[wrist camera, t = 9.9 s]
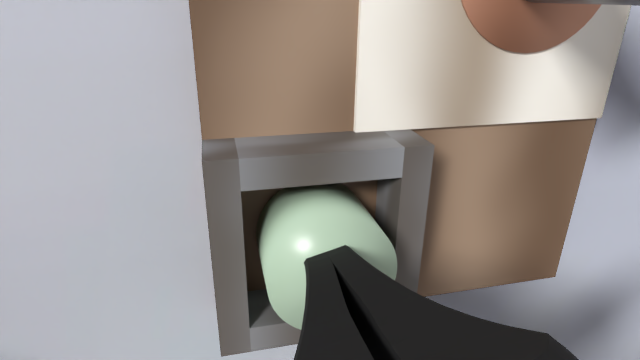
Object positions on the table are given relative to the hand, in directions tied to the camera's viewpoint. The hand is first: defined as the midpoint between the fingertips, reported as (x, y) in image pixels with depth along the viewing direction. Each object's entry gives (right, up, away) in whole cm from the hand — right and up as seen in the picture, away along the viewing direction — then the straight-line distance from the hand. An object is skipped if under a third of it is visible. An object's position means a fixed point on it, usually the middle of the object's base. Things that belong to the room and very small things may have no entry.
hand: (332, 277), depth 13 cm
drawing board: (+3, +7, +2) cm, 8 cm away
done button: (-1, +1, +3) cm, 3 cm away
